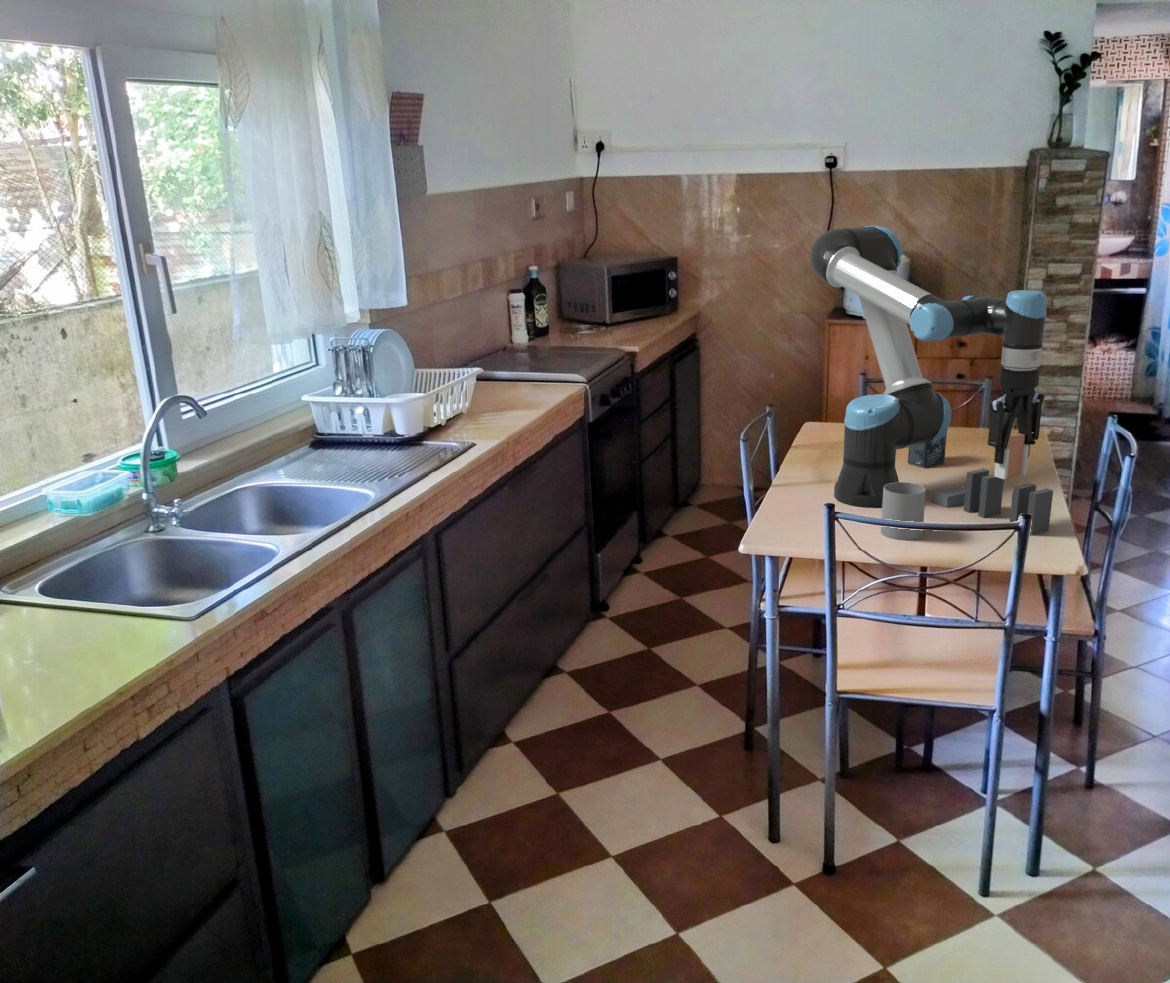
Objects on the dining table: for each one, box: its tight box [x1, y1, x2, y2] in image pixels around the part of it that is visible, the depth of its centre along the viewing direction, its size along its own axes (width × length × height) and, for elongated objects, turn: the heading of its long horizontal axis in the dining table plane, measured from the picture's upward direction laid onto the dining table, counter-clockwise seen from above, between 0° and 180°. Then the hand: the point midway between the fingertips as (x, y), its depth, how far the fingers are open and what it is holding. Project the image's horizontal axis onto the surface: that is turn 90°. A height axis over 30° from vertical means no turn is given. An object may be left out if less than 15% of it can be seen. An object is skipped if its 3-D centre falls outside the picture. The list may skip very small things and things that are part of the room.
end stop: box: [933, 485, 966, 508], centre depth 230 cm, size 8×4×2 cm, turn 116°
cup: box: [880, 481, 927, 541], centre depth 211 cm, size 8×8×10 cm
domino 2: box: [977, 473, 1005, 519], centre depth 220 cm, size 5×2×9 cm, turn 116°
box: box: [907, 431, 948, 469], centre depth 258 cm, size 8×6×11 cm
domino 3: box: [1001, 432, 1025, 480], centre depth 213 cm, size 5×2×9 cm, turn 116°
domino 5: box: [1028, 488, 1054, 536], centre depth 209 cm, size 5×2×9 cm, turn 116°
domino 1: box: [963, 468, 990, 513], centre depth 224 cm, size 5×2×9 cm, turn 116°
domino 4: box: [1009, 482, 1037, 523], centre depth 213 cm, size 5×2×9 cm, turn 116°
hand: (1010, 475), depth 214 cm, fingers closed on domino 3, 5 cm apart
